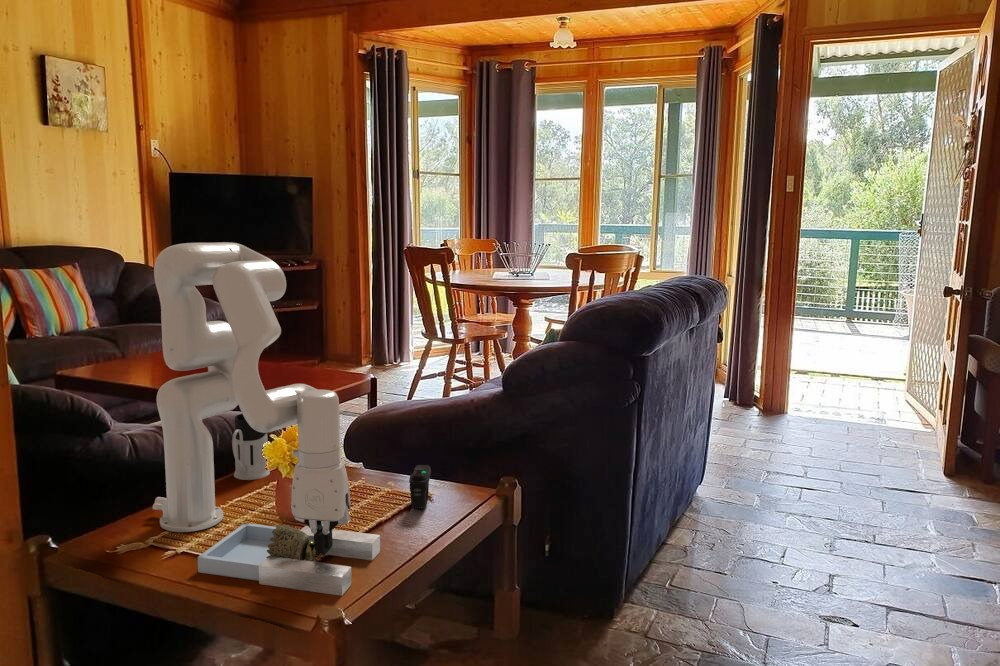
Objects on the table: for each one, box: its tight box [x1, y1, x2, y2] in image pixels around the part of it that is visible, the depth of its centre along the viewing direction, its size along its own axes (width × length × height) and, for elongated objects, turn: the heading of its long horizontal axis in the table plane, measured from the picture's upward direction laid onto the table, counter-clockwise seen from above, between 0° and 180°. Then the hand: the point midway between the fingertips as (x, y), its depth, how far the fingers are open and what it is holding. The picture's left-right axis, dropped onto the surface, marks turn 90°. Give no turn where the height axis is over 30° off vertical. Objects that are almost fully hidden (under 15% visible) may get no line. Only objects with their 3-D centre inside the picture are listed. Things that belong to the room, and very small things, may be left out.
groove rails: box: [258, 525, 381, 597], centre depth 142 cm, size 16×18×4 cm
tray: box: [197, 522, 276, 582], centre depth 145 cm, size 13×16×3 cm
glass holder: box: [231, 413, 271, 481], centre depth 187 cm, size 9×14×15 cm, turn 174°
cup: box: [266, 523, 317, 561], centre depth 143 cm, size 8×7×8 cm
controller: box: [408, 464, 432, 509], centre depth 173 cm, size 4×12×10 cm, turn 179°
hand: (323, 551), depth 142 cm, fingers closed
